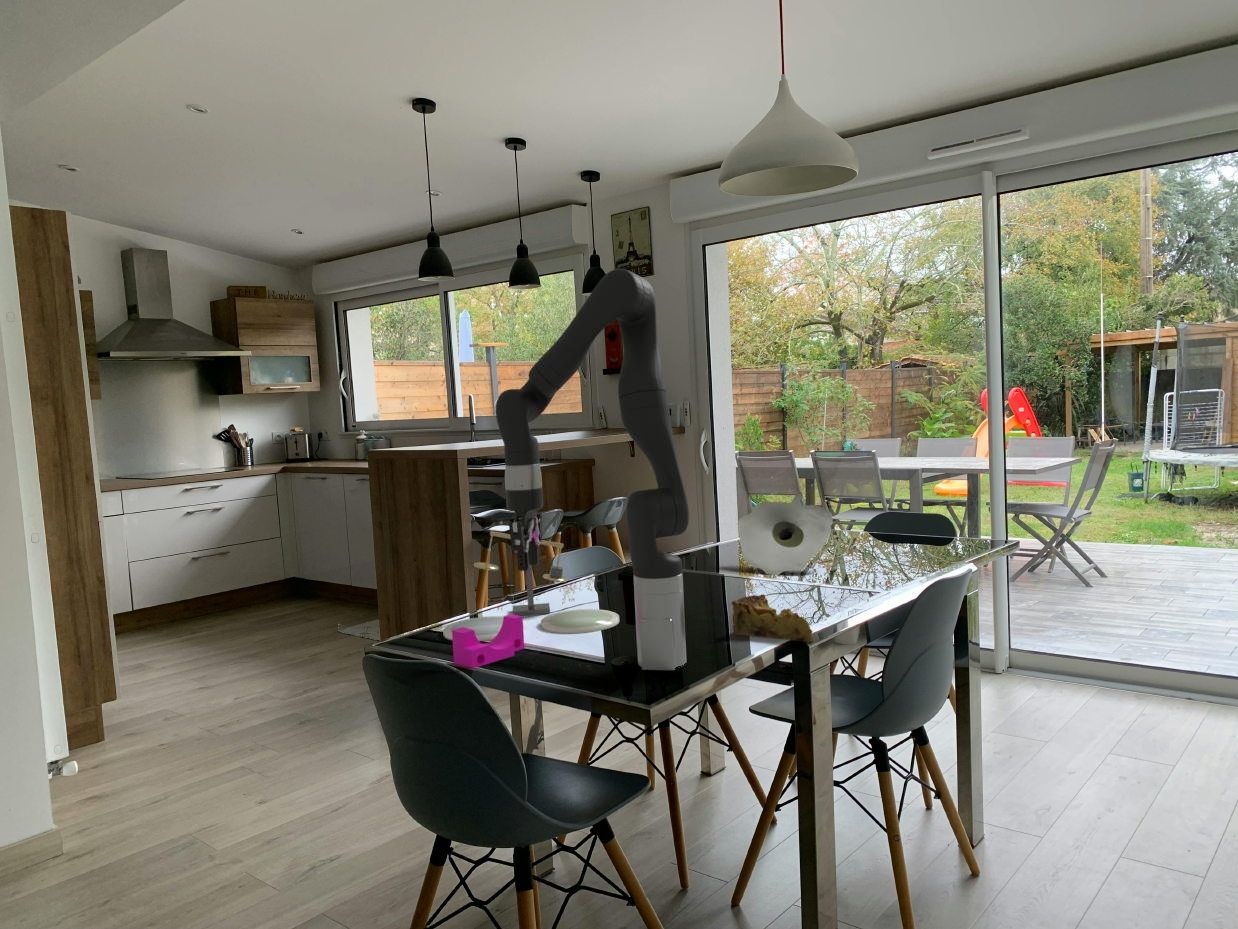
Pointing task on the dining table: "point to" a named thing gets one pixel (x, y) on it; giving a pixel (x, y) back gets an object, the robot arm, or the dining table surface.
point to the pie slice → (768, 621)
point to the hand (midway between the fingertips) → (528, 566)
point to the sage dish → (579, 621)
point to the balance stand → (530, 600)
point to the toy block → (499, 648)
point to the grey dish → (477, 627)
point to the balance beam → (555, 570)
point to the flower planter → (783, 535)
